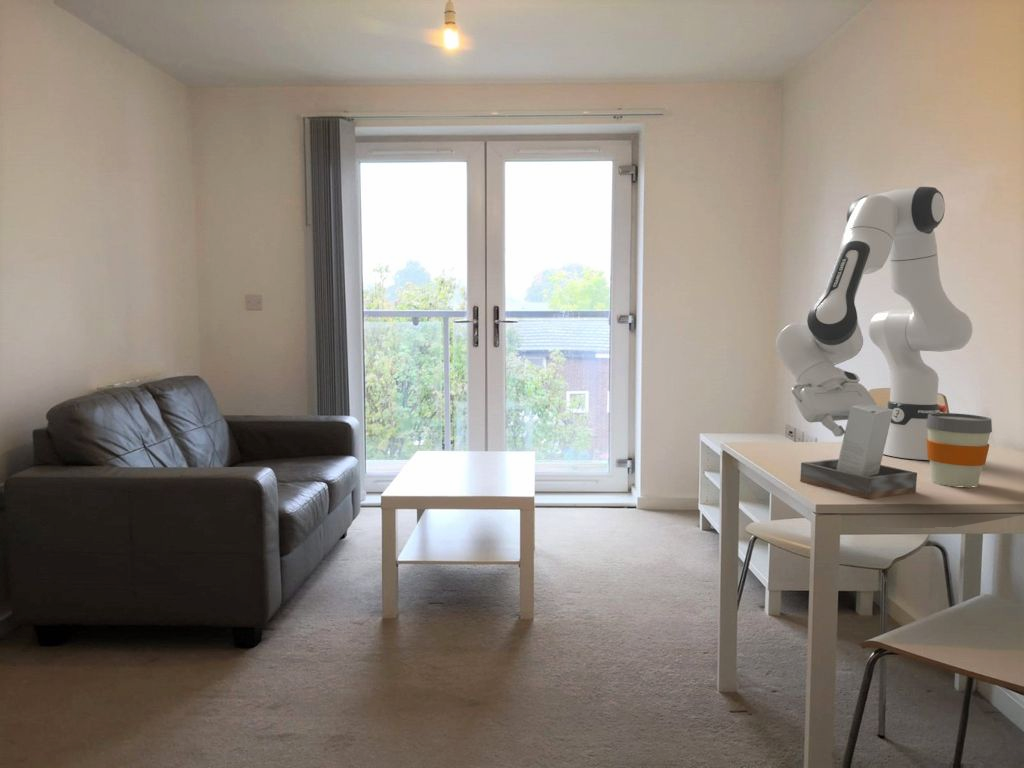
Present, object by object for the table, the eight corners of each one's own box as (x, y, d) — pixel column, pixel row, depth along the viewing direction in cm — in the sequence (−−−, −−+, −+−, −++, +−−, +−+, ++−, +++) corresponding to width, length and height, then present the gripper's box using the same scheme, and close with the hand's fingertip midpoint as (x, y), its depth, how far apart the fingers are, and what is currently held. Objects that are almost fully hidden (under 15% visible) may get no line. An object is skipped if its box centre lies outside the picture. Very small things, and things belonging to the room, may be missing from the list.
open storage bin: (847, 475, 169) (848, 457, 169) (915, 492, 154) (917, 472, 154) (800, 481, 163) (801, 462, 162) (866, 499, 147) (868, 478, 147)
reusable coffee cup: (965, 477, 169) (970, 413, 168) (1000, 490, 157) (1006, 421, 156) (911, 476, 170) (915, 412, 168) (941, 489, 157) (946, 420, 156)
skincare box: (853, 466, 163) (866, 401, 160) (880, 475, 159) (895, 408, 156) (834, 471, 158) (848, 404, 155) (862, 480, 153) (877, 411, 150)
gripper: (796, 376, 159) (831, 427, 151) (861, 374, 168) (897, 422, 160) (780, 394, 164) (812, 445, 156) (844, 391, 172) (878, 439, 165)
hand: (856, 433), depth 158 cm, fingers closed on skincare box, 8 cm apart
